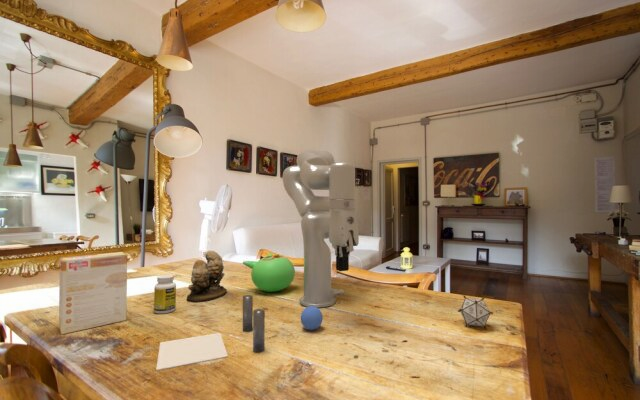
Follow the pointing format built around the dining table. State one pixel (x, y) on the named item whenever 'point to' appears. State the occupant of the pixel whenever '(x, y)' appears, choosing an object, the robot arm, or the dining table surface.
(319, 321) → the ball
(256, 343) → the post
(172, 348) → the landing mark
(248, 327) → the post
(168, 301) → the pill bottle
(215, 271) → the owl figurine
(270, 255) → the green teapot
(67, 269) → the coffeecake box
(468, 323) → the game die
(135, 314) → the dining table surface
